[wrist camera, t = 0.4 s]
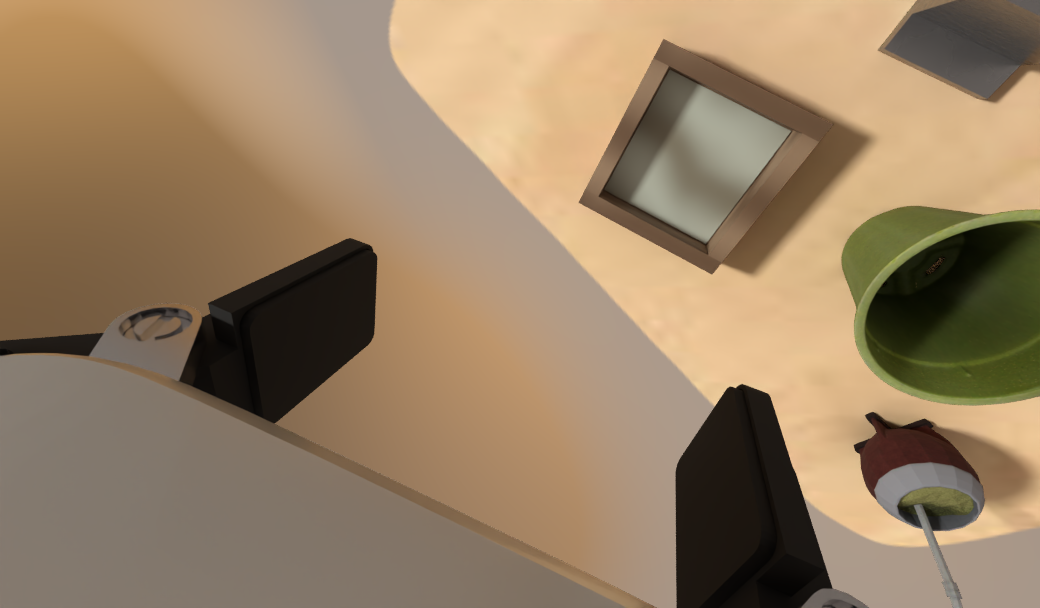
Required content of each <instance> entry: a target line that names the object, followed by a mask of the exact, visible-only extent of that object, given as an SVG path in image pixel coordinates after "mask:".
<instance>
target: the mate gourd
mask: <svg viewBox="0 0 1040 608" xmlns="http://www.w3.org/2000/svg"><path fill="white" fill-rule="evenodd" d="M865 416H866V418H867V420H868V421H869V422H870V423H871V424H872V425H873V426H874V428H875V430H876V432H877V433H876V434H875V435H874V436H873V437H872V438H871V439H868V440H865V441H863V442H860V443H857V444H855V445H854V448H855V451H856V452H857V453H859V454H860V457H861V470H862V474H863V478H864V481H865V484H866V487H867V488H868V490H869V492H870V493H871V495H872V496H873V497H874V498H875V499H876V500H877V502H878V503H879V504H880V505H881V506H882V507H883V508H884V509H885V510H886V511H887V512H888V513H889V514H890V515H892V516H894V517H895V518H897V519H899V520H901V521H902V522H905V523H907V524H909V525H911V526H913V527H915V528H920V529H923V530H924V533H925V535H926V538H927V541H928V543H929V546H930V548H931V551H932V553H933V556H934V558H935V561H936V563H937V566H938V568H939V571H940V573H941V576H942V578H943V581H944V582H942V583H943V586H944V589H945V592H946V595H947V597H950V600H951V603H952V607H953V608H963V607H962V603H961V601H960V599H962V597H961V594H960V592H959V589H958V586H957V584H956V583H954V582H953V579H952V577H951V574H950V572H949V570H948V567H947V565H946V562H945V560H944V558H943V555H942V553H941V550H940V548H939V546H938V543H937V541H936V538H935V536H934V533H933V531H950V530H955V529H959V528H963V527H965V526H967V525H969V524H970V523H972V522H974V521H975V520H976V519H977V518H978V516H979V515H980V513H981V512H982V509H983V507H984V502H985V499H984V492H983V486H982V485H981V484H980V481H979V478H978V475H977V474H976V472H975V471H974V469H973V468H972V467H971V465H970V464H969V463H968V462H967V461H966V460H965V459H964V458H963V456H962V455H961V454H960V453H959V451H958V450H957V449H956V448H955V447H954V446H953V445H952V444H951V443H950V442H949V441H948V440H947V439H945V438H944V437H943V436H941V435H940V434H938V433H937V432H935V431H934V430H932V429H931V428H932V427H933V425H932V424H931V423H930V422H928V421H927V420H926V419H922V420H919V421H916V422H913V423H911V424H908V425H905V426H903V427H900V428H897V429H891V428H889V427H888V426H887V425H886V424H885V423H884V422H883V421H882V420H881V419H880V418H879V417H878V416H877V415H876V414H875V413H874V412H871V413H869V414H866V415H865Z"/></svg>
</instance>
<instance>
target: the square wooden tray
mask: <svg viewBox="0 0 1040 608" xmlns="http://www.w3.org/2000/svg"><path fill="white" fill-rule="evenodd" d="M832 126H833V124H832V123H830V122H828V121H826V120H824V119H822V118H820V117H818V116H816V115H814V114H812V113H810V112H808V111H806V110H804V109H802V108H800V107H798V106H796V105H794V104H792V103H790V102H788V101H786V100H784V99H782V98H780V97H778V96H776V95H774V94H772V93H770V92H768V91H766V90H764V89H762V88H760V87H758V86H756V85H754V84H752V83H750V82H748V81H746V80H744V79H742V78H740V77H738V76H736V75H734V74H732V73H730V72H728V71H726V70H724V69H722V68H720V67H718V66H716V65H714V64H712V63H710V62H708V61H706V60H704V59H703V58H701V57H699V56H697V55H695V54H693V53H691V52H689V51H687V50H685V49H683V48H681V47H679V46H677V45H675V44H673V43H671V42H669V41H667V40H665V39H663V41H662V43H661V45H660V47H659V49H658V51H657V53H656V54H655V56H654V58H653V60H652V62H651V64H650V66H649V68H648V70H647V72H646V74H645V76H644V78H643V79H642V81H641V83H640V85H639V87H638V89H637V91H636V93H635V95H634V97H633V99H632V101H631V103H630V104H629V106H628V108H627V110H626V112H625V114H624V116H623V118H622V120H621V122H620V124H619V126H618V128H617V130H616V131H615V133H614V135H613V137H612V139H611V141H610V143H609V145H608V147H607V149H606V151H605V153H604V155H603V156H602V158H601V160H600V162H599V164H598V166H597V168H596V170H595V172H594V174H593V176H592V178H591V180H590V182H589V183H588V185H587V187H586V189H585V191H584V193H583V195H582V197H581V199H580V201H579V203H580V204H582V205H584V206H586V207H588V208H590V209H592V210H593V211H595V212H597V213H599V214H601V215H603V216H605V217H606V218H608V219H610V220H612V221H614V222H616V223H618V224H619V225H621V226H623V227H625V228H627V229H629V230H630V231H632V232H634V233H636V234H638V235H640V236H642V237H643V238H645V239H647V240H649V241H651V242H653V243H655V244H656V245H658V246H660V247H662V248H664V249H666V250H668V251H669V252H671V253H673V254H675V255H677V256H679V257H681V258H682V259H684V260H686V261H688V262H690V263H692V264H694V265H695V266H697V267H699V268H701V269H703V270H705V271H707V272H708V273H710V274H713V273H714V272H715V270H716V269H717V268H718V267H719V265H720V264H721V263H722V262H723V261H724V259H725V258H726V257H727V256H728V254H729V253H730V252H731V251H732V249H733V248H734V247H735V246H736V244H737V243H738V242H739V241H740V239H741V238H742V237H743V236H744V235H745V233H746V232H747V231H748V230H749V228H750V227H751V226H752V225H753V223H754V222H755V221H756V220H757V218H758V217H759V216H760V215H761V214H762V212H763V211H764V210H765V209H766V207H767V206H768V205H769V204H770V202H771V201H772V200H773V199H774V197H775V196H776V195H777V194H778V192H779V191H780V190H781V189H782V188H783V186H784V185H785V184H786V183H787V181H788V180H789V179H790V178H791V176H792V175H793V174H794V173H795V171H796V170H797V169H798V168H799V166H800V165H801V164H802V163H803V162H804V160H805V159H806V158H807V157H808V155H809V154H810V153H811V152H812V150H813V149H814V148H815V147H816V145H817V144H818V143H819V142H820V141H821V139H822V138H823V137H824V136H825V134H826V133H827V132H828V131H829V129H830V128H831V127H832Z"/></svg>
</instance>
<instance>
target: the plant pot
mask: <svg viewBox="0 0 1040 608" xmlns="http://www.w3.org/2000/svg"><path fill="white" fill-rule="evenodd" d="M940 256H941V257H945V259H944V261H943V262H942V264H941V265H940V266H939V267H938V268H937V269H936V270H935V271H934V272H932V273H931V274H929V275H927V274H926V271H927V270H928V269H929V268H930V267H931V266H932V265H933V264H934V263H935V262H937V261H938V260H939V258H940ZM842 268H843V272H844V275H845V278H846V280H847V283H848V285H849V288H850V291H851V294H852V296H853V299H854V302H855V304H856V314H855V320H854V335H855V342H856V345H857V348H858V351H859V353H860V355H861V357H862V359H863V360H864V362H865V363H866V365H867V366H868V367H869V368H870V369H871V371H872V372H873V373H875V374H876V375H877V376H878V377H879V378H880V379H881V380H883V381H884V382H885V383H887V384H889V385H890V386H892V387H894V388H896V389H898V390H900V391H902V392H904V393H907V394H909V395H911V396H915V397H918V398H921V399H924V400H928V401H933V402H938V403H944V404H952V405H991V404H1002V403H1009V402H1016V401H1021V400H1026V399H1030V398H1035V397H1038V396H1040V210H1017V211H1008V212H1001V213H996V214H990V215H981V214H974V213H968V212H960V211H952V210H945V209H938V208H930V207H922V206H907V207H901V208H897V209H894V210H890V211H888V212H885V213H882V214H880V215H877V216H875V217H873V218H871V219H869V220H867V221H866V222H865V223H863V224H862V225H861V226H860V227H859V228H857V229H856V230H855V231H854V233H853V234H852V235H851V236H850V238H849V239H848V241H847V243H846V244H845V247H844V250H843V253H842ZM884 282H887V283H886V284H885V285H884V286H883V287H881V286H882V284H883V283H884ZM916 283H917V284H916ZM916 286H917V287H916Z"/></svg>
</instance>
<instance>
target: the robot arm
mask: <svg viewBox="0 0 1040 608" xmlns="http://www.w3.org/2000/svg"><path fill="white" fill-rule="evenodd" d="M376 275H377V255H376V254H375V253H374V252H373V249H372V247H371V246H370V245H368V244H365V243H362V242H360V241H357V240H354V239H351V238H349V239H346V240H344V241H341V242H339V243H338V244H335V245H333V246H331V247H328V248H326V249H324V250H322V251H320V252H318V253H316V254H313V255H311V256H309V257H307V258H305V259H303V260H300V261H298V262H296V263H294V264H292V265H290V266H288V267H285V268H283V269H281V270H279V271H277V272H275V273H272V274H270V275H268V276H266V277H264V278H261V279H259V280H257V281H255V282H253V283H251V284H248V285H246V286H245V287H242V288H240V289H238V290H236V291H233V292H231V293H229V294H227V295H225V296H223V297H220V298H218V299H216V300H214V301H212V302H210V303H208V305H209V310H210V314H209V315H207V316H205V317H203V318H202V315H201V314H200V312H199V311H198V310H197V309H195V308H193V307H191V306H187V305H183V304H175V303H163V304H153V305H148V306H144V307H139V308H136V309H134V310H131V311H128V312H126V313H124V314H123V315H121V316H119V317H117V318H116V319H115V320H114V321H113V322H112V323H111V324H110V325H109V326H108V328H107V329H106V331H105V332H104V333H99V334H85V335H72V336H58V337H45V338H33V339H19V340H6V341H0V608H656V607H654V606H652V605H650V604H648V603H646V602H644V601H642V600H640V599H638V598H636V597H634V596H632V595H630V594H628V593H626V592H624V591H622V590H620V589H619V588H616V587H615V586H613V585H611V584H609V583H607V582H605V581H602V580H600V579H598V578H596V577H594V576H592V575H590V574H588V573H586V572H584V571H582V570H580V569H577V568H575V567H573V566H571V565H569V564H567V563H565V562H563V561H561V560H559V559H557V558H555V557H553V556H550V555H548V554H546V553H545V552H542V551H540V550H538V549H536V548H534V547H532V546H530V545H528V544H526V543H524V542H522V541H520V540H518V539H515V538H513V537H511V536H509V535H507V534H505V533H503V532H501V531H499V530H497V529H495V528H493V527H491V526H489V525H487V524H484V523H482V522H480V521H478V520H476V519H474V518H472V517H470V516H468V515H466V514H464V513H461V512H459V511H457V510H455V509H453V508H451V507H449V506H447V505H445V504H442V503H440V502H438V501H436V500H434V499H432V498H430V497H428V496H426V495H424V494H422V493H419V492H418V491H415V490H413V489H411V488H409V487H407V486H405V485H403V484H401V483H399V482H396V481H394V480H392V479H390V478H388V477H386V476H384V475H382V474H380V473H377V472H375V471H373V470H371V469H369V468H367V467H365V466H363V465H361V464H359V463H357V462H354V461H352V460H350V459H348V458H346V457H344V456H342V455H340V454H338V453H335V452H333V451H331V450H329V449H327V448H325V447H323V446H320V445H318V444H316V443H314V442H312V441H310V440H308V439H306V438H303V437H301V436H299V435H297V434H295V433H293V432H290V431H289V430H286V429H284V428H282V427H280V426H278V425H276V424H274V423H276V422H277V421H278V420H280V419H281V418H282V417H283V416H284V415H286V414H287V413H288V412H289V411H290V410H291V409H293V408H294V407H295V406H296V405H297V404H299V403H300V402H301V401H302V400H303V399H304V398H306V397H307V396H308V395H309V394H310V393H312V392H313V391H314V390H315V389H316V388H318V387H319V386H320V385H321V384H322V383H324V382H325V381H326V380H327V379H328V378H329V377H331V376H332V375H333V374H334V373H335V372H337V371H338V370H339V369H340V368H341V367H342V366H343V365H345V364H346V363H347V362H348V361H349V360H351V359H352V358H353V357H354V356H355V355H357V354H358V353H359V352H360V351H361V350H363V349H364V348H365V347H366V346H367V345H368V344H369V343H370V342H371V340H372V338H373V336H374V328H375V327H374V326H375V303H376V301H375V300H376ZM676 583H677V584H676V586H677V608H869V607H867V606H866V605H865V604H863V603H862V602H861V601H859V600H857V599H856V598H854V597H852V596H851V595H849V594H847V593H844V592H841V591H839V590H836V589H833V588H832V585H831V582H830V579H829V576H828V573H827V570H826V566H825V563H824V560H823V557H822V554H821V551H820V548H819V544H818V542H817V538H816V535H815V532H814V529H813V526H812V523H811V519H810V516H809V513H808V510H807V507H806V504H805V501H804V498H803V494H802V491H801V488H800V485H799V482H798V479H797V476H796V473H795V471H794V469H793V467H792V464H791V461H790V457H789V454H788V451H787V448H786V445H785V442H784V438H783V435H782V432H781V429H780V426H779V423H778V419H777V416H776V413H775V410H774V407H773V404H772V401H771V397H770V396H769V394H767V393H765V392H762V391H760V390H757V389H754V388H751V387H749V386H746V385H743V384H741V385H739V386H737V388H734V387H729V388H727V390H726V391H725V392H724V394H723V395H722V397H721V398H720V400H719V401H718V403H717V404H716V406H715V407H714V409H713V410H712V412H711V413H710V415H709V416H708V418H707V420H706V421H705V422H704V424H703V425H702V427H701V428H700V430H699V431H698V433H697V434H696V436H695V437H694V439H693V440H692V442H691V443H690V445H689V446H688V447H687V449H686V451H685V452H684V453H683V455H682V457H681V458H680V460H679V462H678V464H677V468H676Z"/></svg>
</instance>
